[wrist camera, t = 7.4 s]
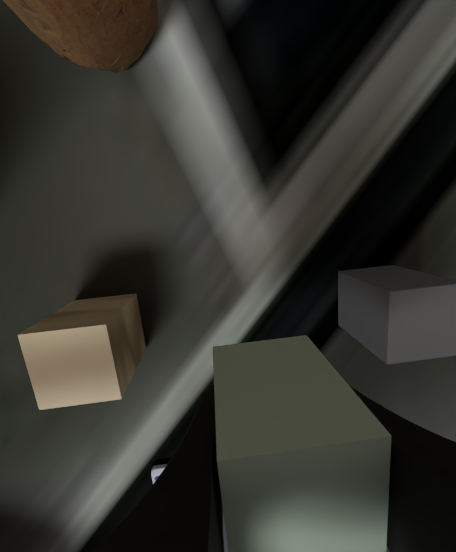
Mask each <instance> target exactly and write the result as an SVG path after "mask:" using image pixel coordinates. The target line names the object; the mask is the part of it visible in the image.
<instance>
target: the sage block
mask: <svg viewBox="0 0 456 552" xmlns="http://www.w3.org/2000/svg"><path fill="white" fill-rule="evenodd" d="M213 367H214V395H215V423H216V452H217V466H218V474H219V482H220V490H221V498H222V506H223V514H224V521H225V529H226V537H227V545H228V552H386V544H387V522H388V500H389V479H390V457H391V435H390V433H389V432H388V431H387V430H386V429H385V428H384V426H383V425H382V424H381V423H380V422H379V420H378V419H377V418H376V417H375V416H374V415H373V413H372V412H371V411H370V410H369V409H368V407H367V406H366V405H365V404H364V403H363V402H362V400H361V399H360V398H359V397H358V396H357V394H356V393H355V392H354V391H353V390H352V389H351V387H350V386H349V385H348V384H347V383H346V381H345V380H344V379H343V378H342V377H341V376H340V374H339V373H338V372H337V371H336V370H335V368H334V367H333V366H332V365H331V364H330V363H329V361H328V360H327V359H326V358H325V357H324V355H323V354H322V353H321V352H320V351H319V350H318V348H317V347H316V346H315V345H314V344H313V343H312V341H311V340H310V339H309V338H308V337H307V335H305V336H297V337H289V338H281V339H272V340H264V341H256V342H248V343H240V344H232V345H224V346H215V347H213Z"/></svg>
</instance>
